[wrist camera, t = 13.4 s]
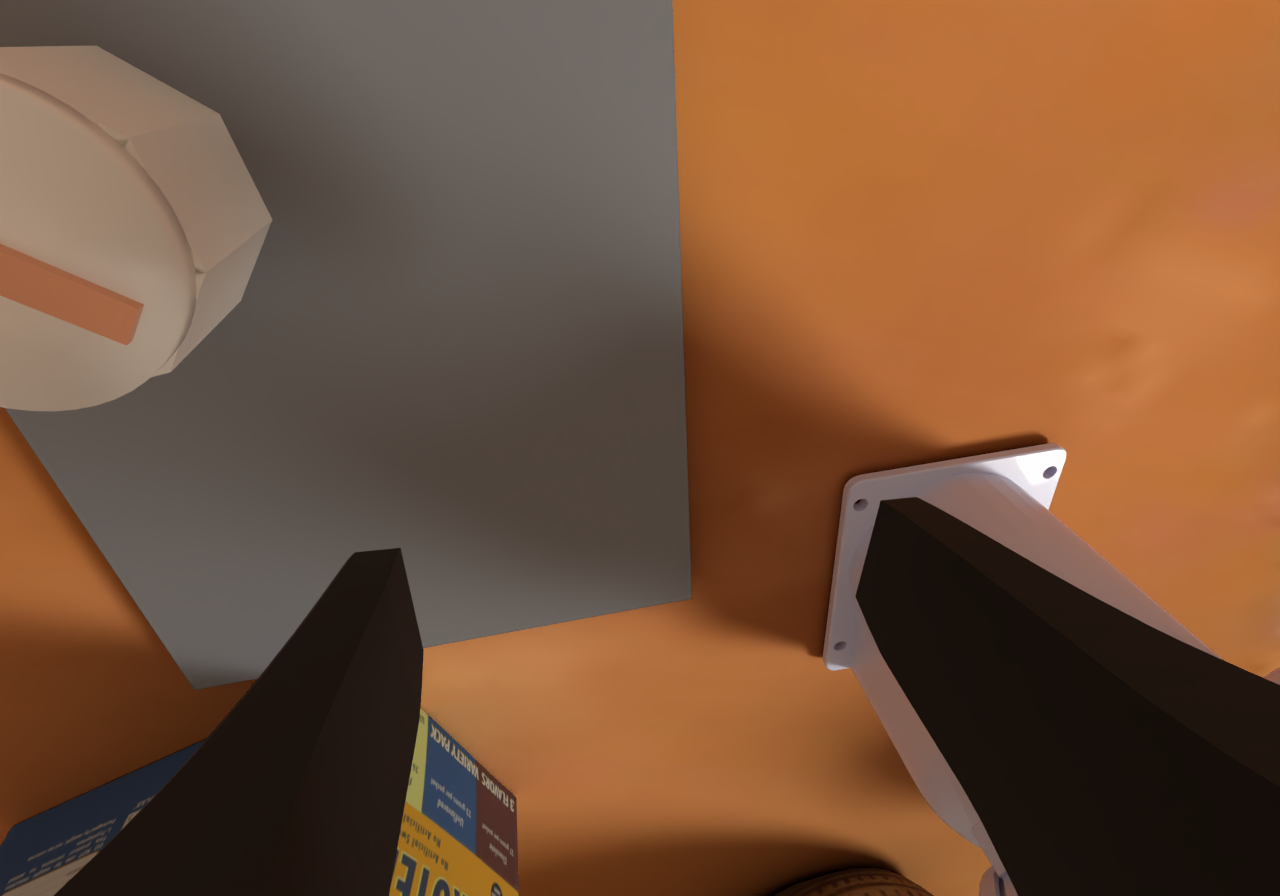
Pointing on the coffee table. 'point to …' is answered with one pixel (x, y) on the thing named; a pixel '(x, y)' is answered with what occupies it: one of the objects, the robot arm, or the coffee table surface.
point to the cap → (111, 226)
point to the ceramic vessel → (857, 884)
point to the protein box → (427, 848)
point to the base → (405, 323)
